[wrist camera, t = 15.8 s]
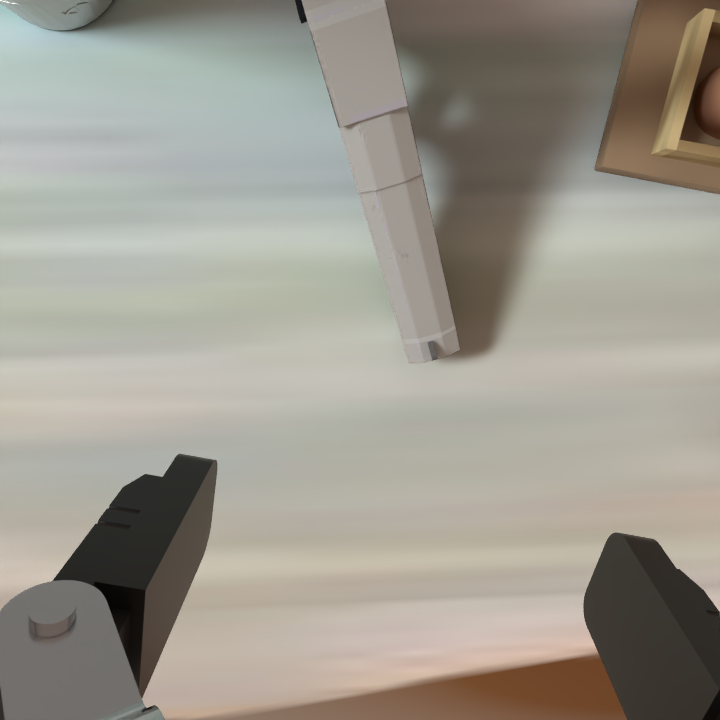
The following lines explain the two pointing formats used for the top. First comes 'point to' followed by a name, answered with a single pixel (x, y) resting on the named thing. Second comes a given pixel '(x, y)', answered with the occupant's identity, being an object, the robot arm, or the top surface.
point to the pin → (708, 104)
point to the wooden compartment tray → (664, 97)
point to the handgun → (385, 165)
